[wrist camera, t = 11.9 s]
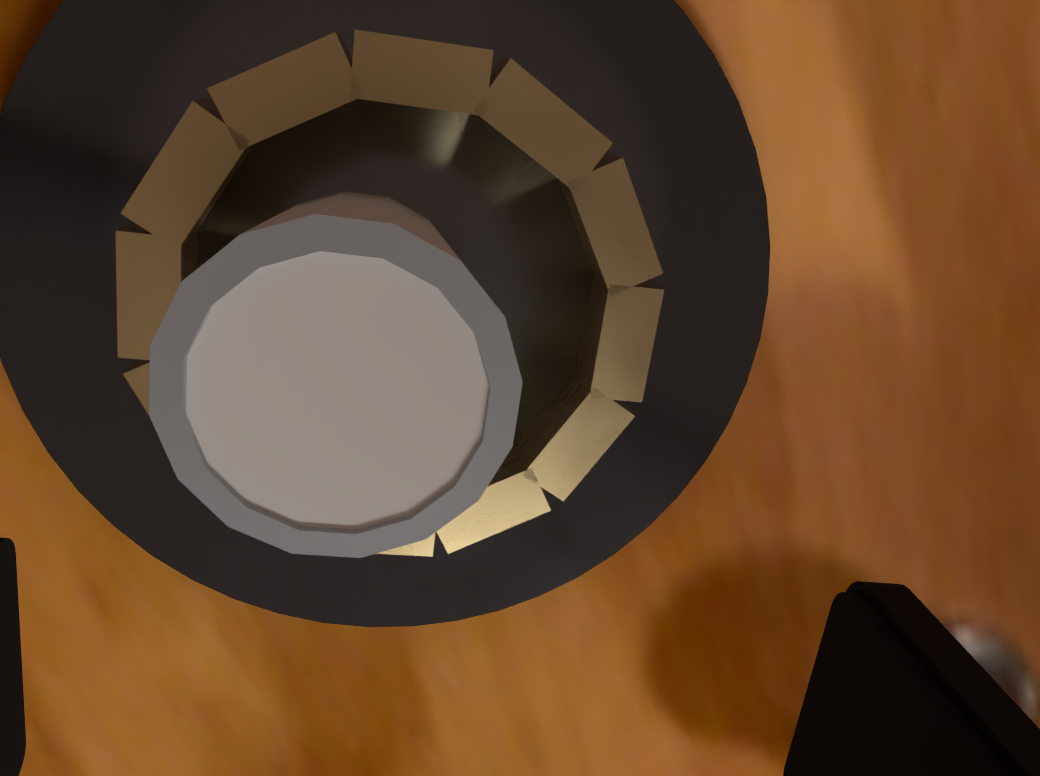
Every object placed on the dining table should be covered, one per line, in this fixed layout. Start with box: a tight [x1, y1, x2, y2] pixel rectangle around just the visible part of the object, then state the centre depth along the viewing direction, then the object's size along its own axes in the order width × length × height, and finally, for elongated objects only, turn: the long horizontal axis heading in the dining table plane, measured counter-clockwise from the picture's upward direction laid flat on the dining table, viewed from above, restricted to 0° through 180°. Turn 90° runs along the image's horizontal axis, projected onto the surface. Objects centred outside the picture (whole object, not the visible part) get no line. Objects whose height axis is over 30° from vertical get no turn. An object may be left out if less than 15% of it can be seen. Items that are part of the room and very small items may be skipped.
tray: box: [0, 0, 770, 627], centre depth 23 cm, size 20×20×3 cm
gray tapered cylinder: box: [149, 191, 523, 558], centre depth 20 cm, size 7×7×7 cm
